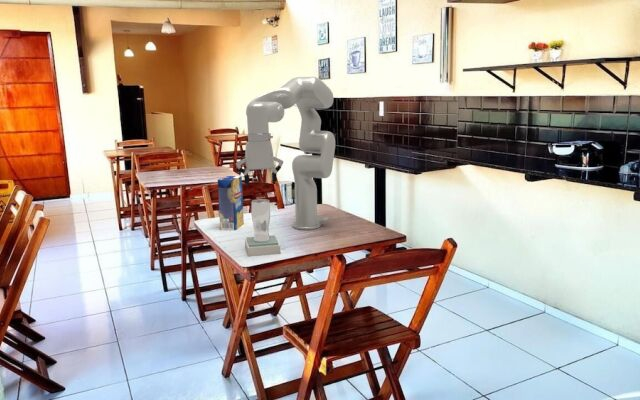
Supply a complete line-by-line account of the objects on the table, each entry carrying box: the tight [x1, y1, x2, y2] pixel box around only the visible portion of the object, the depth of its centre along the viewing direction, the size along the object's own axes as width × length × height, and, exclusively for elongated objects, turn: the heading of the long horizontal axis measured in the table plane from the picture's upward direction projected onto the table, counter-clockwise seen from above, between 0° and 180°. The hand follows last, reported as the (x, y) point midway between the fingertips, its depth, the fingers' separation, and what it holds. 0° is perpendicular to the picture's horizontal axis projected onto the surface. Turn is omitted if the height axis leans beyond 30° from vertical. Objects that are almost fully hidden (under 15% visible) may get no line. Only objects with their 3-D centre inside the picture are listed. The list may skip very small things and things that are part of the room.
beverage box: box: [217, 175, 245, 231], centre depth 231 cm, size 7×11×22 cm, turn 168°
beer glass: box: [250, 198, 271, 242], centre depth 196 cm, size 7×7×15 cm
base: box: [244, 234, 282, 257], centre depth 198 cm, size 12×12×4 cm
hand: (260, 184), depth 194 cm, fingers open, 9 cm apart
